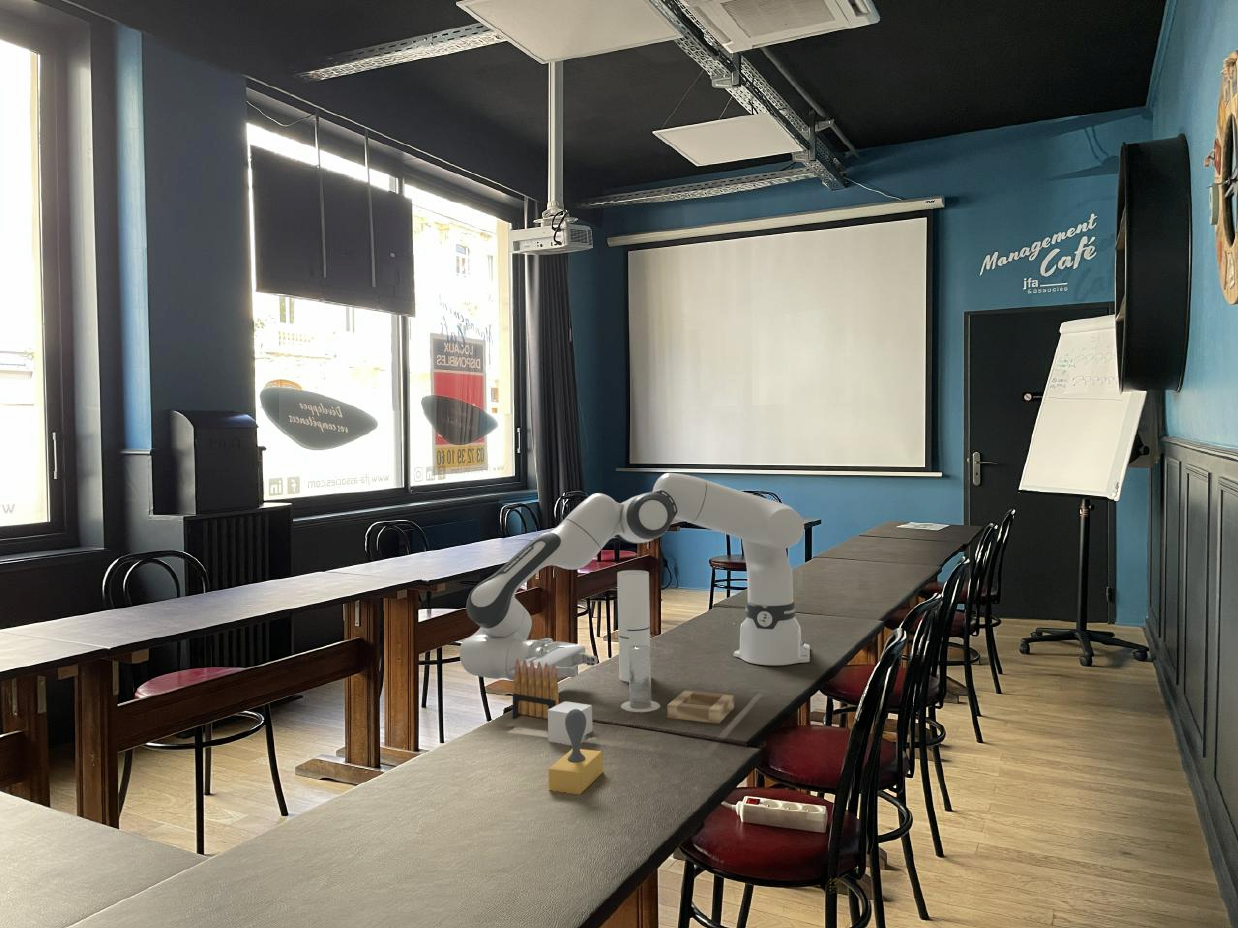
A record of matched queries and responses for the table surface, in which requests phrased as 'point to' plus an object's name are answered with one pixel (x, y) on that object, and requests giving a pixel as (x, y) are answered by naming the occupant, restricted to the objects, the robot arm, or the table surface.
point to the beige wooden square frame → (701, 706)
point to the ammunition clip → (534, 691)
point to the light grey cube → (557, 722)
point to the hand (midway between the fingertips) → (586, 666)
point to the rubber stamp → (575, 760)
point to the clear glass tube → (640, 676)
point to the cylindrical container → (632, 615)
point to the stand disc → (627, 707)
